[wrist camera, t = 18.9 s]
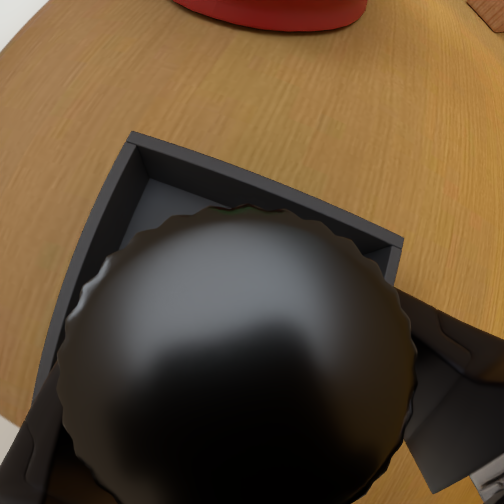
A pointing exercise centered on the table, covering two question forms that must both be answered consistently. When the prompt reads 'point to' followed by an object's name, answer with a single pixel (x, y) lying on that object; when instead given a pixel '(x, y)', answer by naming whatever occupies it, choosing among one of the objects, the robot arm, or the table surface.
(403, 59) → the table surface
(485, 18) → the decorative item
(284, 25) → the table lamp
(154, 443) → the supplement bottle
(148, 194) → the bin
